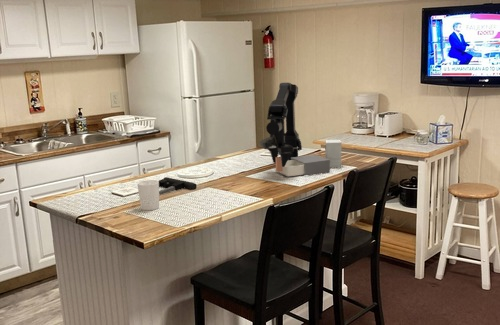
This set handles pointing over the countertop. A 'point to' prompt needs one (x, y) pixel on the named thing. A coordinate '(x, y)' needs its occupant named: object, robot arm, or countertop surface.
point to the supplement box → (333, 153)
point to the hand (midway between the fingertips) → (279, 164)
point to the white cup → (149, 194)
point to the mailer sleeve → (314, 164)
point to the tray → (290, 167)
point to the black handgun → (174, 185)
